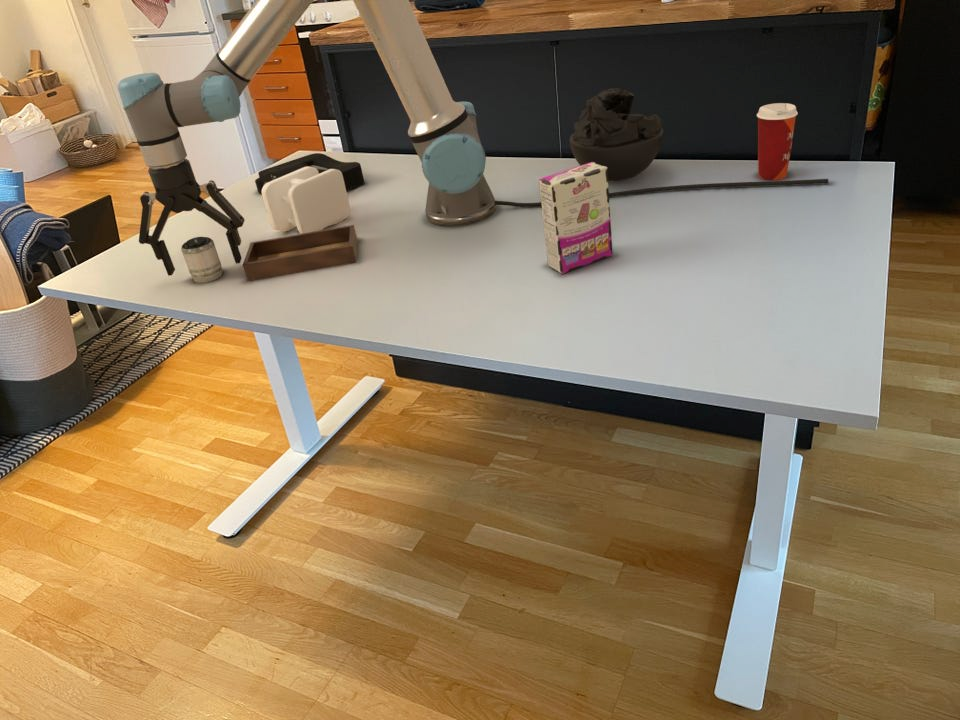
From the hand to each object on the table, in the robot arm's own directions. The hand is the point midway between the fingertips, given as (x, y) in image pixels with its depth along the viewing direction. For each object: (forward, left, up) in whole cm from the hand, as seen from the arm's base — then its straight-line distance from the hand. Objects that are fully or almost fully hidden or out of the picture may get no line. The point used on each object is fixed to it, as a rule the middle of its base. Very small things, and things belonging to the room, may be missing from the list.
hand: (205, 267), depth 149 cm
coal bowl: (-89, -16, -2) cm, 90 cm away
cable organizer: (-20, -19, -2) cm, 28 cm away
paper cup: (-118, -2, -2) cm, 118 cm away
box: (-19, 0, -2) cm, 20 cm away
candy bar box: (-71, +23, -2) cm, 75 cm away
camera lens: (0, 0, -2) cm, 2 cm away
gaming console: (-18, -47, -2) cm, 50 cm away
